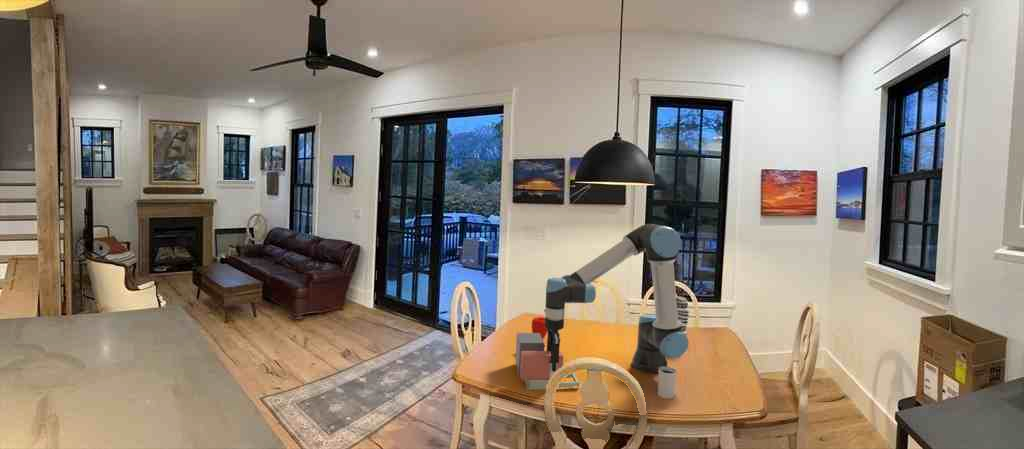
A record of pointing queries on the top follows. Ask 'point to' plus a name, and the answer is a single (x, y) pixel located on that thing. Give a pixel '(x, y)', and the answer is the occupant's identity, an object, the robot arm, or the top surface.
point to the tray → (544, 383)
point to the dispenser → (527, 345)
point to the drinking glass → (666, 382)
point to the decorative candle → (682, 311)
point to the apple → (539, 326)
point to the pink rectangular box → (537, 365)
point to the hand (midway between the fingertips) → (551, 375)
